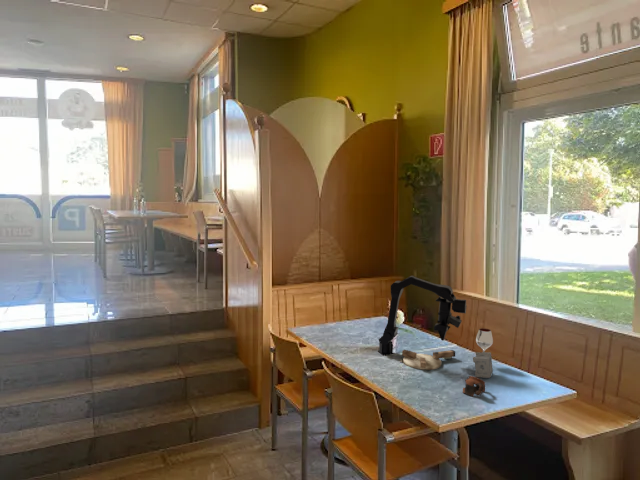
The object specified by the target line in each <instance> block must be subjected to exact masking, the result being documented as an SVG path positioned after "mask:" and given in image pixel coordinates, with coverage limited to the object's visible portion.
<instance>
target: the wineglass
mask: <svg viewBox="0 0 640 480" xmlns="http://www.w3.org/2000/svg"><path fill="white" fill-rule="evenodd" d="M477 331H478V332H477V333H476V338H475V342H476V344H477V346H478V347H479V348H481V350H482V352H485V351H486V350H487V349H489V348H490V347H491V346H492V345H493V343H494V338H493V334H492V330H491V329H489V328H485V327H484V328H483V327H481V328H479V329H478V330H477Z"/></svg>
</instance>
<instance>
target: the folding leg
mask: <svg viewBox="0 0 640 480" xmlns="http://www.w3.org/2000/svg"><path fill="white" fill-rule="evenodd" d="M432 356H433V358H435V359H438V358H439V359H443V358H446V357H452V358H453V357H456V350H453V349H450V350H449V349H448V350H441V351H433V352H432Z"/></svg>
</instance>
